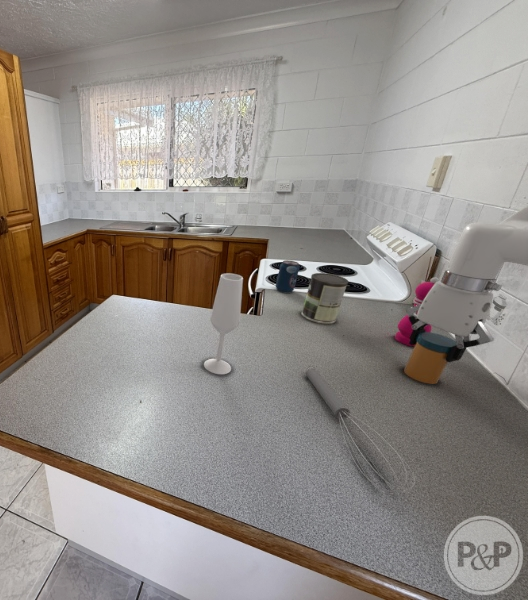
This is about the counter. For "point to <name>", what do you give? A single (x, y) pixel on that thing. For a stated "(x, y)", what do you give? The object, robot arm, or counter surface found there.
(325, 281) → the coffee can
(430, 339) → the lid
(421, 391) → the counter surface
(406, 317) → the pepper mill
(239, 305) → the champagne flute
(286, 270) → the soda can
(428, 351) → the jar
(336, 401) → the kitchen whisk
